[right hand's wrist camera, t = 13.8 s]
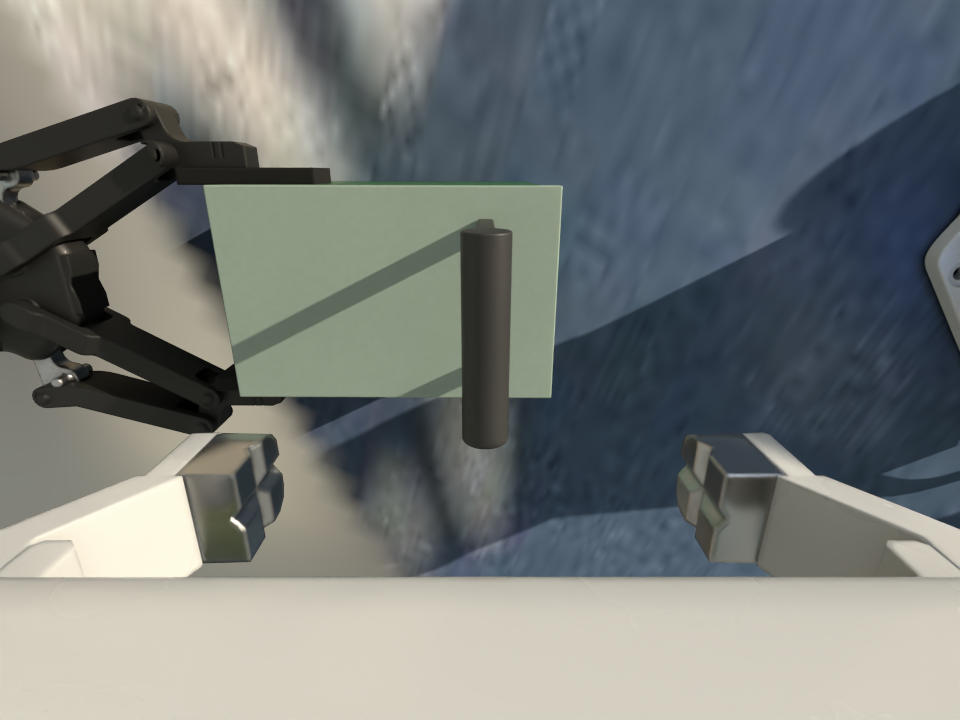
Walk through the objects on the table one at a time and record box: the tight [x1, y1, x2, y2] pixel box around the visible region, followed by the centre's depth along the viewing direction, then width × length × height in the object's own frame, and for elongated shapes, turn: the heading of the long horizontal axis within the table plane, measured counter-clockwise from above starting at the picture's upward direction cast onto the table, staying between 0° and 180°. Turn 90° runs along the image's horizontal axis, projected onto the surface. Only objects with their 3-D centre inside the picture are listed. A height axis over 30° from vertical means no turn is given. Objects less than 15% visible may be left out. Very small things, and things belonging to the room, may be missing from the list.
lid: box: [203, 185, 562, 449], centre depth 21 cm, size 15×10×8 cm, turn 90°
